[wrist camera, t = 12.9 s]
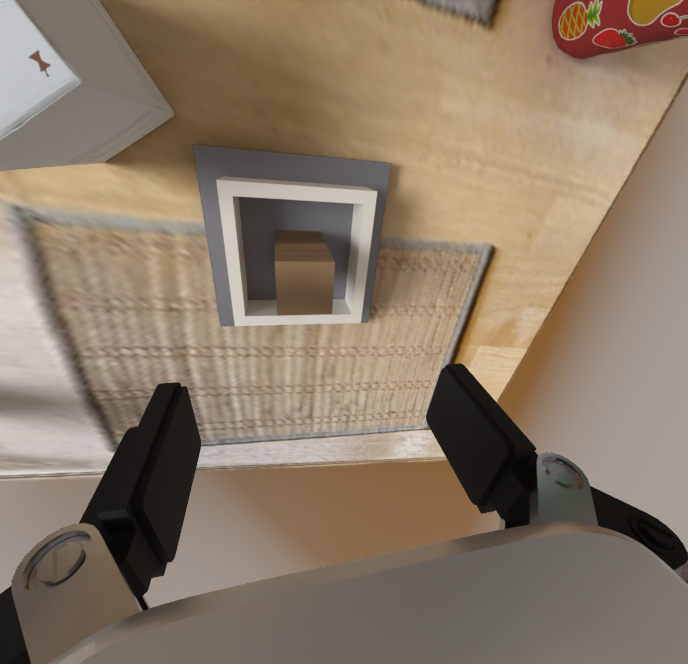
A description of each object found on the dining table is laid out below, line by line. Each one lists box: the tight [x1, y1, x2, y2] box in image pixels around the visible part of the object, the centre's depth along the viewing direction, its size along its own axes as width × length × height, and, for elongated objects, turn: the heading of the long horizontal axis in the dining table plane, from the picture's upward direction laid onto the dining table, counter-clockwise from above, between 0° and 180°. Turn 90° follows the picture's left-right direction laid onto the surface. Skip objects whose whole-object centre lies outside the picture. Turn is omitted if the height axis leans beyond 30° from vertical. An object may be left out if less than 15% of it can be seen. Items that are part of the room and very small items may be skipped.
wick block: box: [275, 230, 335, 316], centre depth 24 cm, size 4×4×9 cm
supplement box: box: [0, 0, 175, 171], centre depth 15 cm, size 7×7×13 cm
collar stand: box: [192, 145, 391, 326], centre depth 27 cm, size 16×16×5 cm
